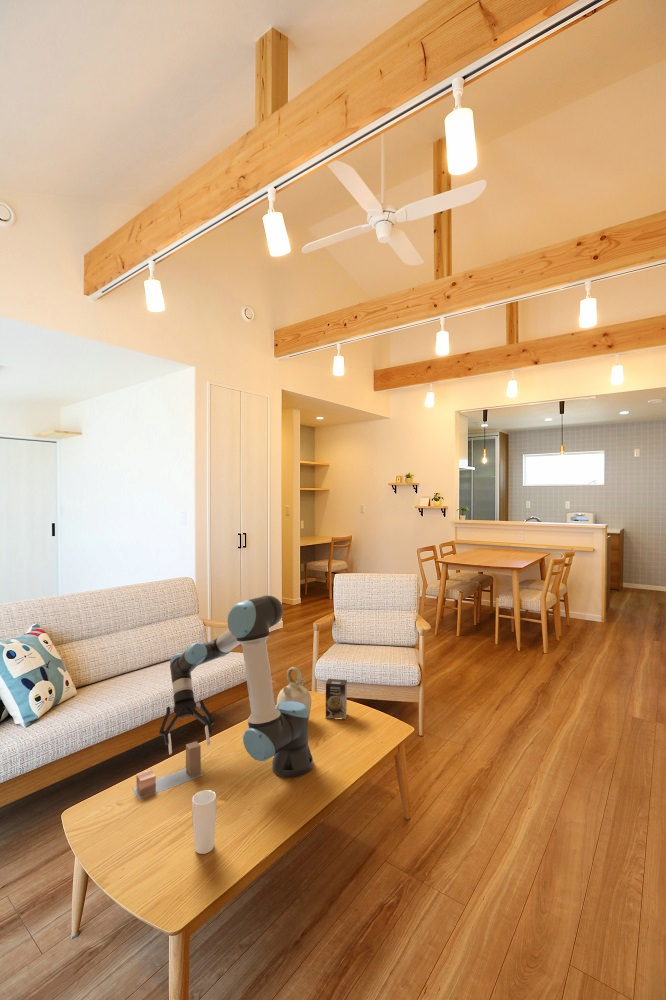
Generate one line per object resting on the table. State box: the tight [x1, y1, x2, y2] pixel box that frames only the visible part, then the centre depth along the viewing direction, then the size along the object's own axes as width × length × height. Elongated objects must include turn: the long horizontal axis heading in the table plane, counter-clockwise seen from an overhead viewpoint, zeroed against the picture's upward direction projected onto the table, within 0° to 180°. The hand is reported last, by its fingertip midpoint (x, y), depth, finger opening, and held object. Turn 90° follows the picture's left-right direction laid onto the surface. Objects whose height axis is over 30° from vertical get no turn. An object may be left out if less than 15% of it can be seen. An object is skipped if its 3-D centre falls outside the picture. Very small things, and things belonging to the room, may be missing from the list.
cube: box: [135, 768, 157, 796], centre depth 163 cm, size 5×5×5 cm
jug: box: [276, 666, 312, 721], centre depth 211 cm, size 15×16×25 cm
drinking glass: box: [191, 789, 217, 855], centre depth 137 cm, size 7×7×15 cm
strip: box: [132, 740, 203, 800], centre depth 167 cm, size 8×22×11 cm, turn 126°
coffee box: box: [325, 678, 348, 720], centre depth 217 cm, size 9×6×16 cm
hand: (190, 748), depth 175 cm, fingers open, 13 cm apart
